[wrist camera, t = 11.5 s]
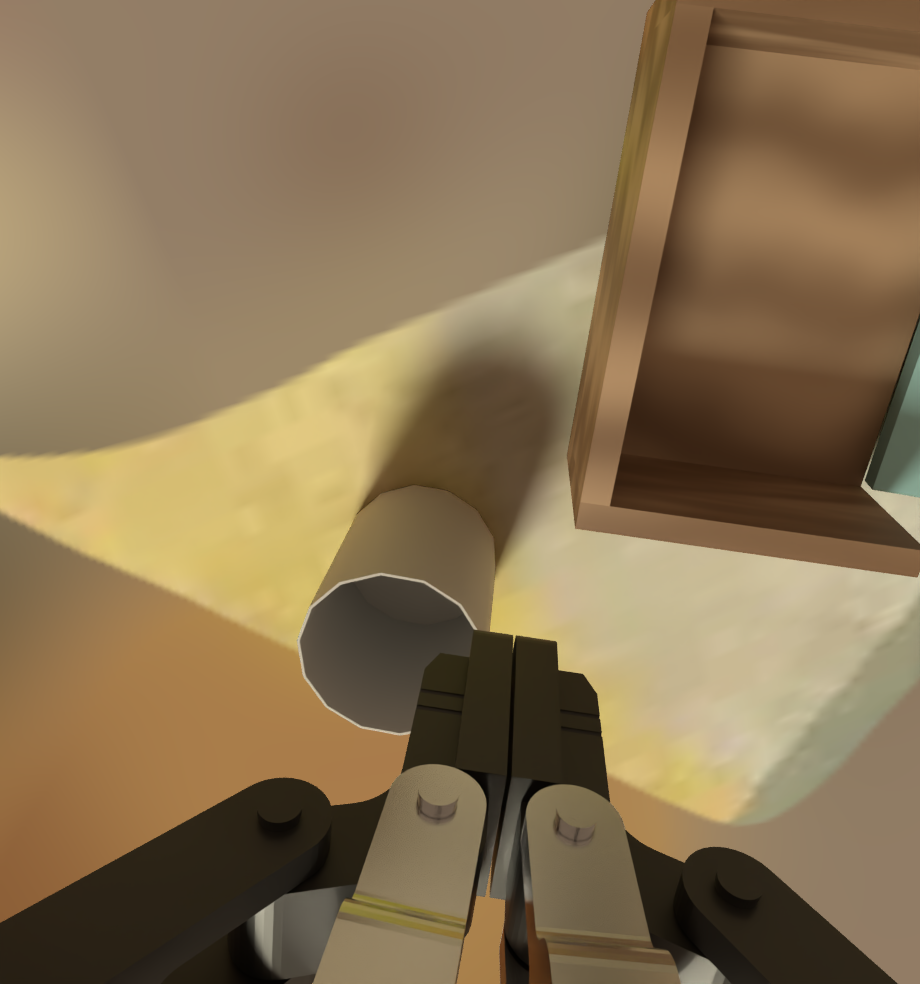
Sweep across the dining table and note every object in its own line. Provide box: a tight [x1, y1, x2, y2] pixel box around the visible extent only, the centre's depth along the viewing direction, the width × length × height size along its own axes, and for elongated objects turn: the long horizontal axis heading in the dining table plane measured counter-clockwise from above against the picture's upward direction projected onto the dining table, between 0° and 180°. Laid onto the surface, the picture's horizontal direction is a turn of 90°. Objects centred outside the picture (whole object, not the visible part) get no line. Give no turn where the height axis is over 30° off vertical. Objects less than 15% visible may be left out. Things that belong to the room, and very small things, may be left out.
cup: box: [297, 485, 496, 735], centre depth 39 cm, size 8×8×10 cm
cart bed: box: [567, 0, 920, 577], centre depth 32 cm, size 20×14×9 cm
